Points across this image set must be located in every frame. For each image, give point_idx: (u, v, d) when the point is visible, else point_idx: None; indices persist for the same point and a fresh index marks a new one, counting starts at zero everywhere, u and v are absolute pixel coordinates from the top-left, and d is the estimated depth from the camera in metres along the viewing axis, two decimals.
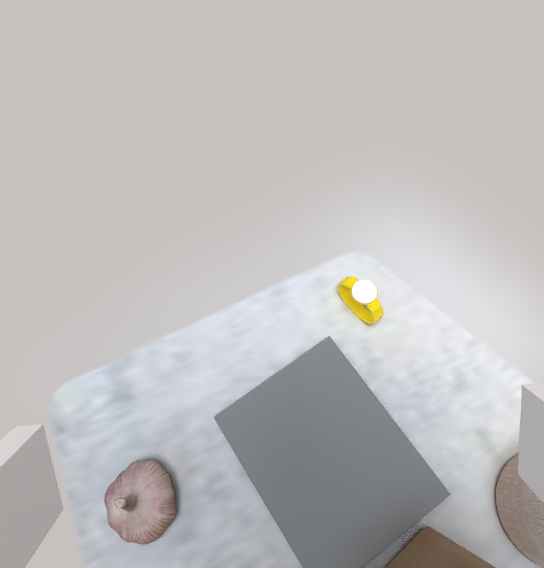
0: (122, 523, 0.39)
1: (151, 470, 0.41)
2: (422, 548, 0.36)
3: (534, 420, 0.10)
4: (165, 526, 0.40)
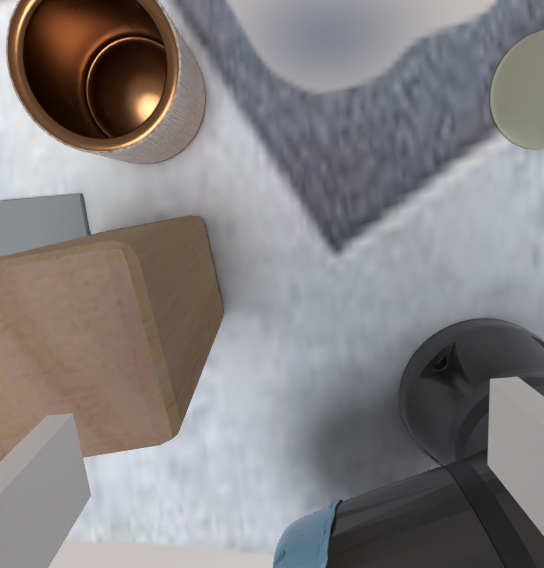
0: None
1: None
2: None
3: (500, 412, 0.11)
4: None
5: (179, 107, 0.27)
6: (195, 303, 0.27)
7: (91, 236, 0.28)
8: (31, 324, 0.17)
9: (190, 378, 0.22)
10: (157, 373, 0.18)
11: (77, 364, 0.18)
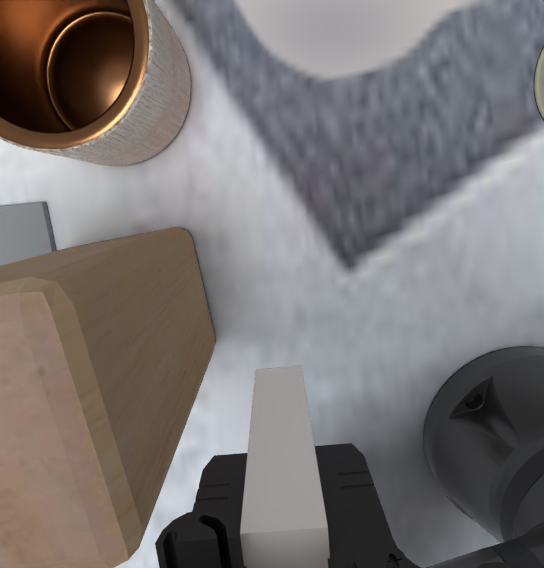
0: None
1: None
2: None
3: None
4: None
5: (152, 92, 0.21)
6: (174, 342, 0.21)
7: (45, 256, 0.23)
8: None
9: (162, 453, 0.17)
10: (104, 470, 0.13)
11: None
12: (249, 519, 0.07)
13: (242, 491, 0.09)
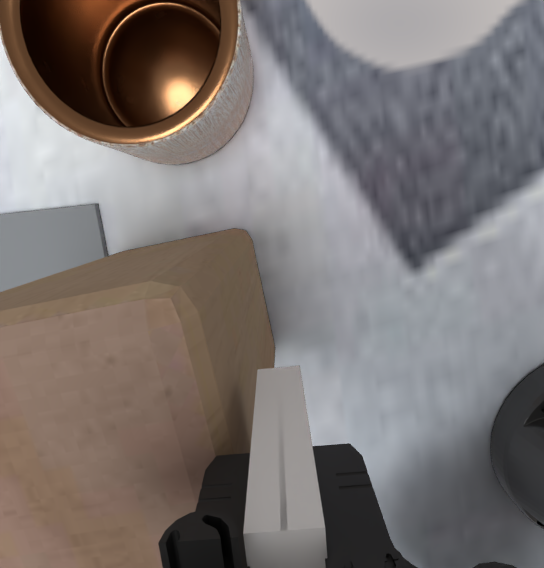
0: None
1: None
2: None
3: None
4: None
5: (234, 82, 0.19)
6: (255, 352, 0.19)
7: (111, 260, 0.21)
8: (16, 431, 0.10)
9: None
10: None
11: (95, 495, 0.10)
12: (252, 519, 0.07)
13: (245, 491, 0.09)
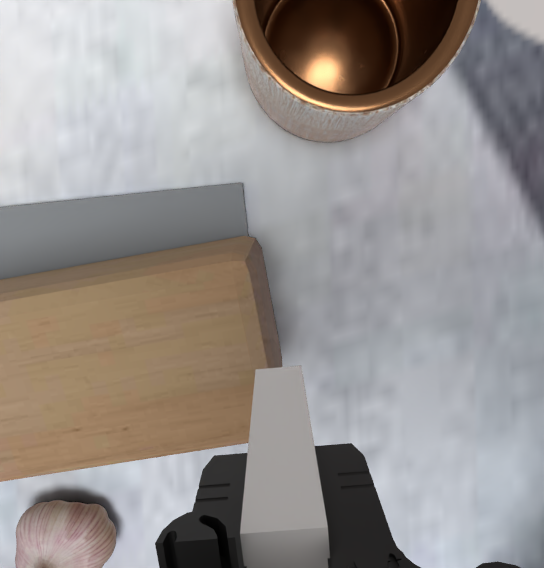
0: None
1: (25, 529, 0.30)
2: None
3: None
4: (102, 529, 0.32)
5: None
6: (57, 397, 0.20)
7: (130, 259, 0.25)
8: None
9: None
10: None
11: None
12: (249, 519, 0.07)
13: (242, 491, 0.09)
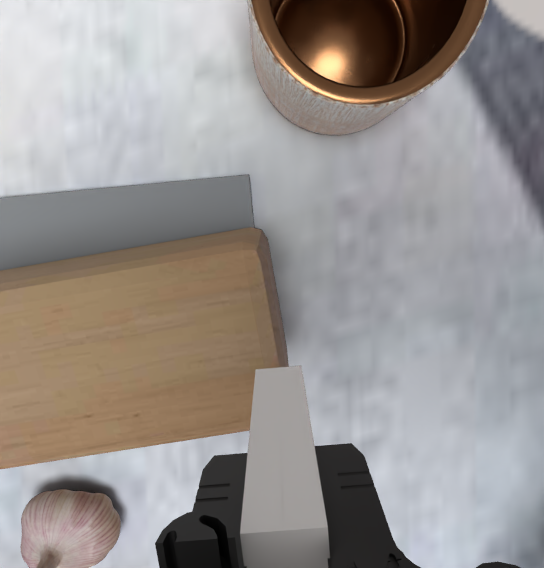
0: None
1: (31, 517, 0.31)
2: None
3: None
4: (107, 518, 0.32)
5: None
6: (69, 383, 0.20)
7: (138, 249, 0.26)
8: None
9: None
10: None
11: None
12: (249, 519, 0.07)
13: (242, 491, 0.09)
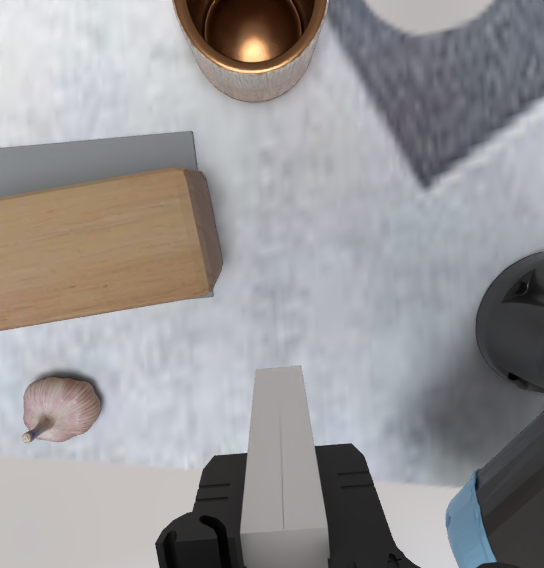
0: (62, 433, 0.41)
1: (31, 393, 0.41)
2: None
3: None
4: (89, 397, 0.42)
5: (318, 35, 0.29)
6: (59, 263, 0.30)
7: None
8: None
9: (5, 311, 0.31)
10: None
11: None
12: (249, 519, 0.07)
13: (242, 491, 0.09)
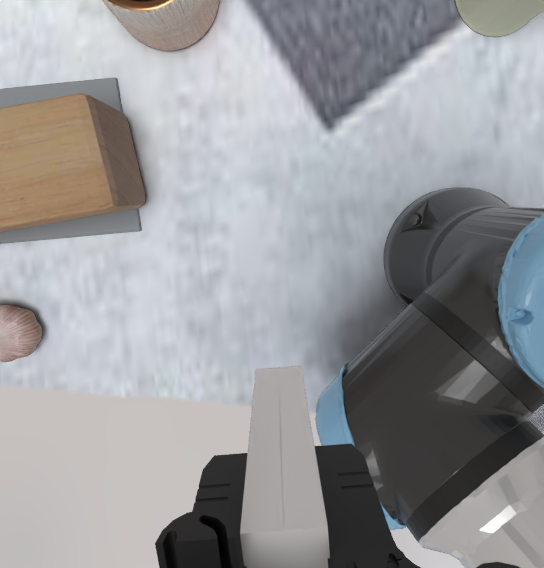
0: (3, 352, 0.45)
1: None
2: None
3: None
4: (29, 322, 0.46)
5: None
6: None
7: None
8: None
9: None
10: None
11: None
12: (249, 519, 0.07)
13: (242, 491, 0.09)
